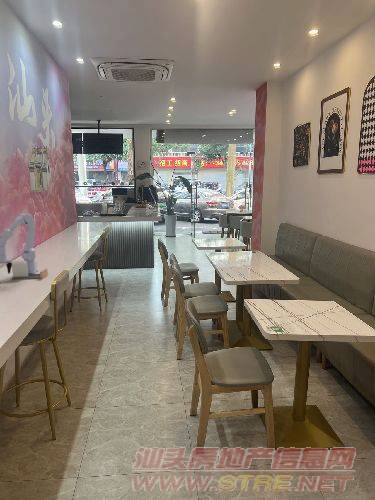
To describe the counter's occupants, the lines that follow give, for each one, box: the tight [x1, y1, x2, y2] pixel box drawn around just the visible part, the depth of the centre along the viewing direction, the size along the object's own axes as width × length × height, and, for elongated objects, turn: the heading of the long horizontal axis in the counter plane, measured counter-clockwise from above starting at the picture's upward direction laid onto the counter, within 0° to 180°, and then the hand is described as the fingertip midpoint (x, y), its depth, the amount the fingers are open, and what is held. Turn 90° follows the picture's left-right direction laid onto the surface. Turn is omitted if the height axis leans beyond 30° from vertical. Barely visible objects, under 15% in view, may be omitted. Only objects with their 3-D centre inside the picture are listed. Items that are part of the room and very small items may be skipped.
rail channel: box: [12, 268, 48, 280], centre depth 278 cm, size 10×22×5 cm, turn 90°
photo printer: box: [11, 260, 29, 277], centre depth 278 cm, size 10×4×12 cm, turn 96°
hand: (3, 273), depth 278 cm, fingers open, 7 cm apart
